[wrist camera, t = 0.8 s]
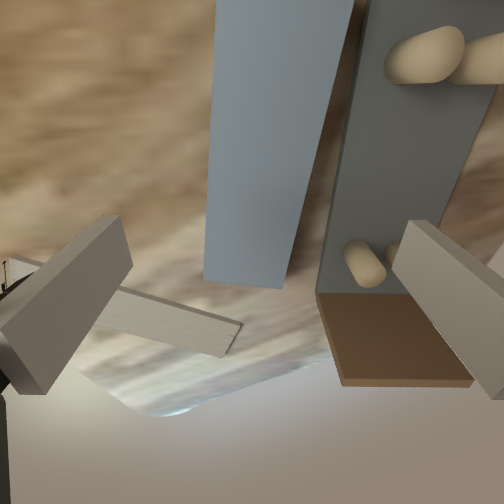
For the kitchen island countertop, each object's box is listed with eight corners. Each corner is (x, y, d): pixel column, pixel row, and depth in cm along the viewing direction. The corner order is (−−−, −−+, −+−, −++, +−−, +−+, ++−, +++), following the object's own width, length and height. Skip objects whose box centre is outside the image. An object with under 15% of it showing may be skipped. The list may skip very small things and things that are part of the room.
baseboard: (218, 358, 44) (240, 318, 39) (217, 374, 42) (240, 333, 37) (20, 306, 38) (17, 251, 33) (4, 320, 35) (-1, 263, 31)
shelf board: (208, 258, 33) (203, 280, 30) (225, -28, 20) (219, -56, 16) (278, 266, 34) (281, 289, 30) (341, -6, 20) (361, -28, 17)
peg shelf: (314, 294, 36) (341, 386, 25) (380, -73, 18) (575, -324, 7) (402, 295, 36) (469, 387, 25) (551, -71, 18) (1007, -315, 7)
